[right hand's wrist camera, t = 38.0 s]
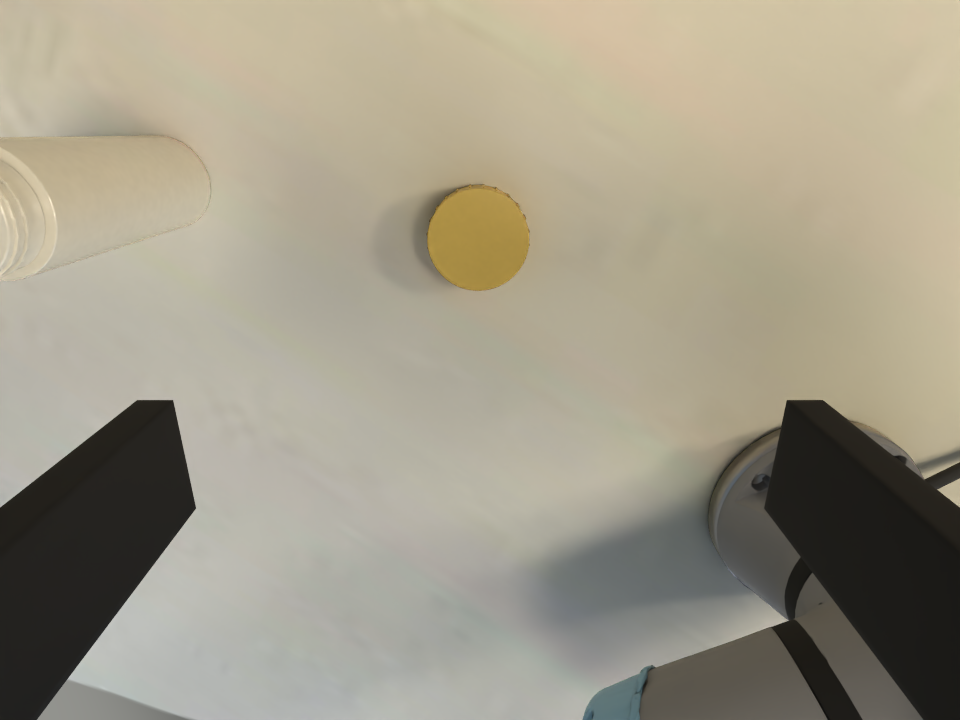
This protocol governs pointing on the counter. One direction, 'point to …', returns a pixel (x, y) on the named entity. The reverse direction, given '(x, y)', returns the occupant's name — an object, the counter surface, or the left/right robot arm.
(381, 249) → the counter surface
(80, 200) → the jar
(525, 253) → the lid
